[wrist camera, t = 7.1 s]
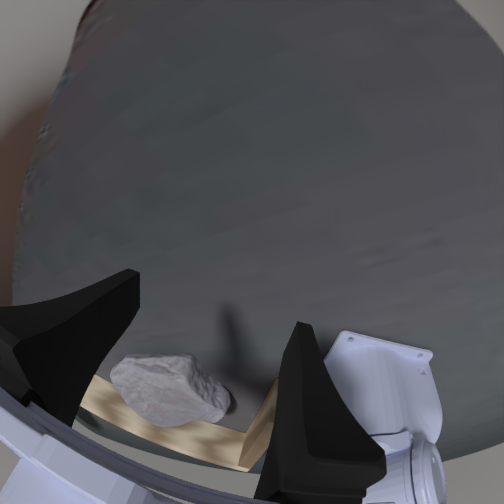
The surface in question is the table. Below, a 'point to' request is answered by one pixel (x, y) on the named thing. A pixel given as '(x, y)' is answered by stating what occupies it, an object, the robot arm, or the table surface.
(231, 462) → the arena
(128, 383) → the stone block
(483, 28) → the table surface
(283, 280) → the table surface
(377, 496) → the robot arm
